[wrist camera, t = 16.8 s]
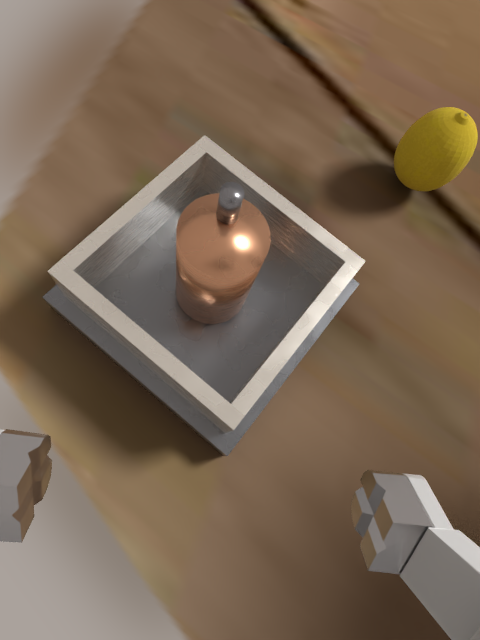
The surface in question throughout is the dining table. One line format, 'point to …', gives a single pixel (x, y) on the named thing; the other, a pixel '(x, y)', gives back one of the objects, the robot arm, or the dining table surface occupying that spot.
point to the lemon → (435, 149)
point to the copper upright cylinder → (219, 254)
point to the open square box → (181, 330)
